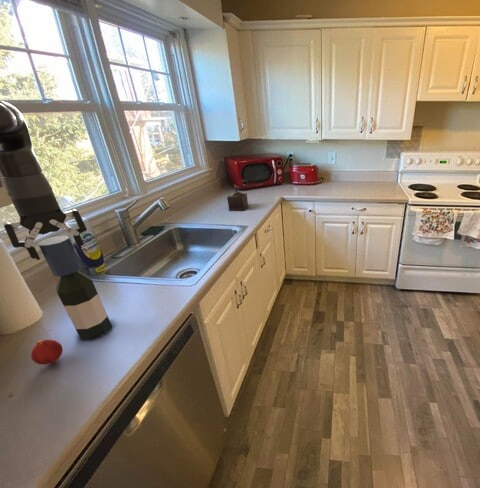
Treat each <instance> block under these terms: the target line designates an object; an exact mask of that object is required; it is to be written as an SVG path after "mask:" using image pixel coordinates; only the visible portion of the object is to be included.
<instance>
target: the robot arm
mask: <svg viewBox="0 0 480 488" xmlns="http://www.w3.org/2000/svg"><path fill="white" fill-rule="evenodd" d="M0 179H1V180H2V183H3V187H4V189H5V190H6V194H7V196H8V197H9V198H10V201H11V203H12V205H13V206H14V209H15V210H16V213H17V214H18V217H19V220H17V221H11V222H10V221H4V223H3V227H4V229H5V232H6V234H7V236H8V239H9V240H10V243H11V245H12V247H13V248H15V249H19V248H25V249H26V251H27V253H28V254H29V256H30V258H31V259H33V260H36V261H39V260H41V257H40V255H39V253H38V251H37V250H36V247H35V245H34V242H35V240H36V239H37V237H38V235H46V234H49V233H55V232H59V231H60V230H63V231H65V232H66V233H69V234H71V236H72V239H73V241H74V243H75V245H76V247H77V248H78V249H82V248H83V247H82V246H84V240H83V239H82V236H81V234H82V233H83V232H87V230H88V228H87V227H86V224H85V222H84V220H83V218H82V216H81V214H80V212H79V210H77V208H72V209H70V210H68V211H63V210H62V209H61V207H60V205H59V202H58V200H57V197H56V196H55V193H54V191H53V186H52V185H51V184H50V182H49V179H48V178H47V177H46V175H45V173H44V171H43V168H42V166H41V164H40V163H39V160H38V158H37V155H36V154H35V152H34V147H33V141H32V138H31V134H30V130H29V127H28V124H27V122H26V119H25V118H24V115H23V114H22V112H20V111H19V109H17V107H15V106H14V105H12V104H11V103H8V102H6V101H3V100H0ZM67 217H69V218H70V219H72V220H75V222H76V225H77V227H75V228H74V227H72V226H71V225H69V224H67V223H66V222H65V221H66V220H67V219H66V218H67ZM19 227H22V228H25V229H27V230H28V231H27V233H26V236H25V238H24V240H19V238H18V236H17V234H16V232H18V231H19Z"/></svg>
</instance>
